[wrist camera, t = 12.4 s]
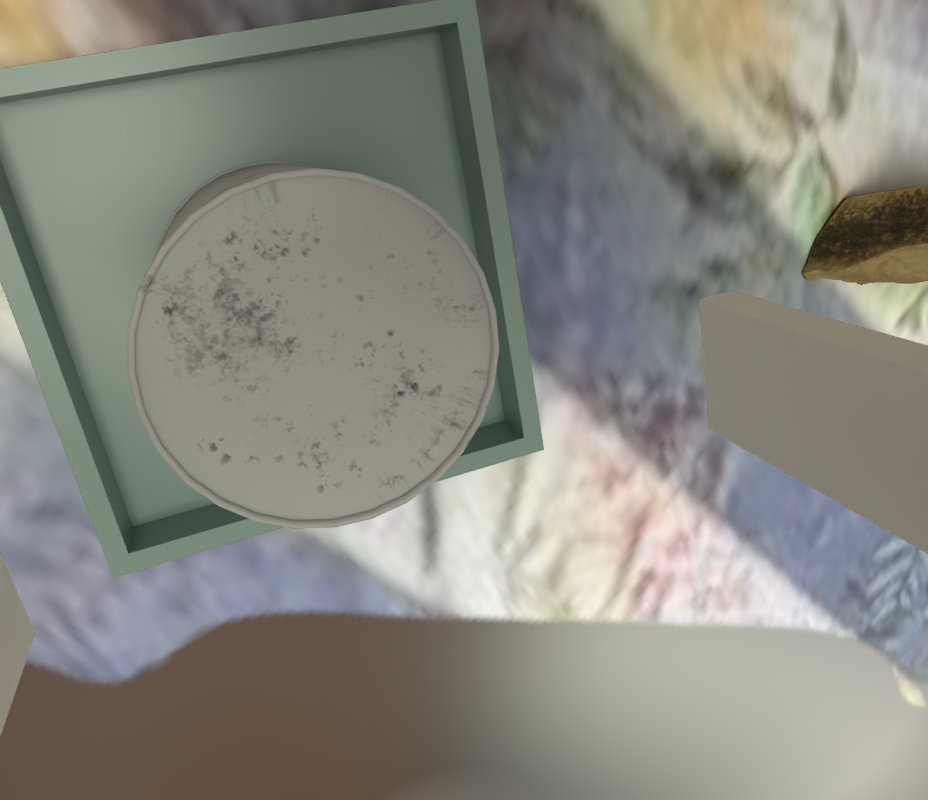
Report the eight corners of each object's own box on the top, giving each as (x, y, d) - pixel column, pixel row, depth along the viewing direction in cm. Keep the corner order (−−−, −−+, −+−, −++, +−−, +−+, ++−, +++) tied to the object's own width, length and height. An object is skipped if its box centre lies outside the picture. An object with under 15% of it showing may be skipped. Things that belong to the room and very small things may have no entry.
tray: (449, 8, 32) (474, -6, 29) (517, 426, 38) (544, 449, 35) (-48, 87, 28) (-76, 80, 25) (120, 540, 34) (113, 577, 31)
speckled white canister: (330, 115, 31) (405, 99, 20) (437, 331, 35) (550, 419, 23) (99, 232, 30) (40, 285, 18) (236, 442, 33) (254, 592, 22)
